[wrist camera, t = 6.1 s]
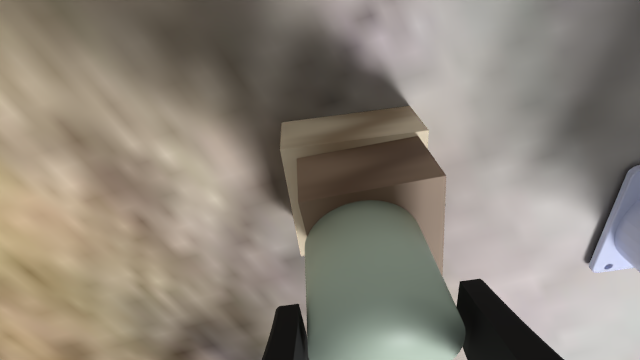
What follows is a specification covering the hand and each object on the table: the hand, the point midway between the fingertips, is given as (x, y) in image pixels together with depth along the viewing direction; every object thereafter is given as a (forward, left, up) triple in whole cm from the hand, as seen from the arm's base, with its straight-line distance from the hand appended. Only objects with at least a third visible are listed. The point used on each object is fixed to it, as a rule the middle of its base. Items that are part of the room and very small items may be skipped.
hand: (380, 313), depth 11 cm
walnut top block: (0, 0, -6) cm, 6 cm away
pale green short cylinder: (0, 0, -3) cm, 3 cm away
